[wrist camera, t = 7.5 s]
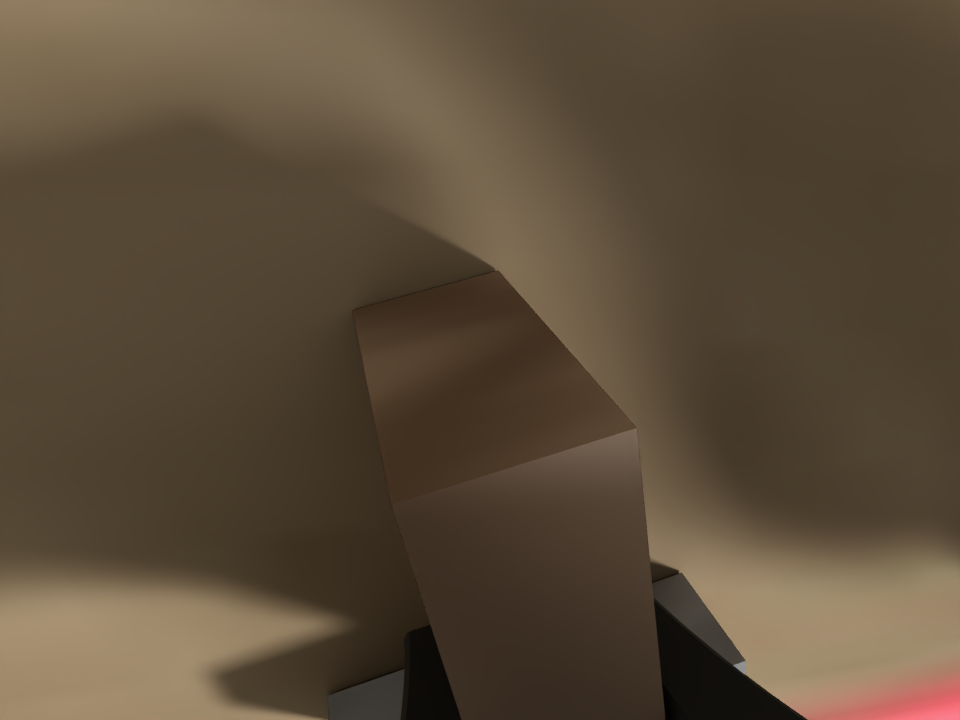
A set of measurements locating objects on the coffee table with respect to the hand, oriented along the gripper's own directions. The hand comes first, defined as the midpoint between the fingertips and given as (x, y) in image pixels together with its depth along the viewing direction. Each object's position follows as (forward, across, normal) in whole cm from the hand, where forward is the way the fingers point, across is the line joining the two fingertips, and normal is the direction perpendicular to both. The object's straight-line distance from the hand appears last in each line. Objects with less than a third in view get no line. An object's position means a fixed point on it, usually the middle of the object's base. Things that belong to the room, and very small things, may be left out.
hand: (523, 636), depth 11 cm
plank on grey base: (+2, 0, -2) cm, 3 cm away
